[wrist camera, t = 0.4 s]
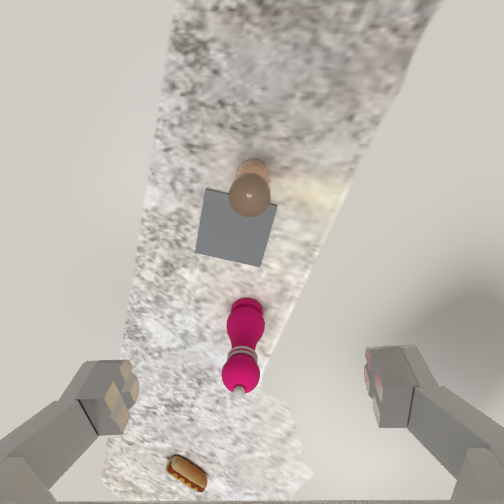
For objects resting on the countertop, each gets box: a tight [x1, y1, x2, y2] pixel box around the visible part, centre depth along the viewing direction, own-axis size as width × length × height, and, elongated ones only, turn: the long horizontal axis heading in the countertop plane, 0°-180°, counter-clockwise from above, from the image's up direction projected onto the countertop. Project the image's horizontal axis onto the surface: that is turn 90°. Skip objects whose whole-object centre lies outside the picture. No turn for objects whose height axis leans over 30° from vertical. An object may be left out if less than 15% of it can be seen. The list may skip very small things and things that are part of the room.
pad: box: [195, 188, 277, 267], centre depth 56 cm, size 12×12×1 cm
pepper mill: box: [222, 298, 265, 399], centre depth 56 cm, size 7×7×20 cm
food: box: [166, 456, 207, 492], centre depth 91 cm, size 14×6×5 cm, turn 39°
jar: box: [229, 159, 270, 217], centre depth 47 cm, size 5×5×11 cm
